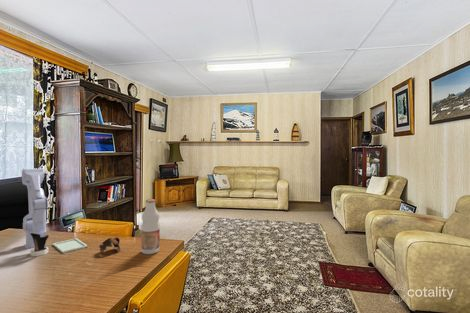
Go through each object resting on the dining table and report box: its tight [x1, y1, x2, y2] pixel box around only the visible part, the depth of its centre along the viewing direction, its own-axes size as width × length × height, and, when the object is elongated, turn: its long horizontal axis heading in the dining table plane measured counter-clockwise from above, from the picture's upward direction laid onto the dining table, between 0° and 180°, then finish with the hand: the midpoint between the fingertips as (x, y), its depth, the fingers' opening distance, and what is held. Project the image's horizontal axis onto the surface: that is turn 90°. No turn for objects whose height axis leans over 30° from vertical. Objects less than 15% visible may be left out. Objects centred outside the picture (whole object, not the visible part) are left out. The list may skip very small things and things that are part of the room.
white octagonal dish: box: [29, 246, 49, 257], centre depth 134 cm, size 7×7×2 cm
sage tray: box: [52, 238, 89, 254], centre depth 145 cm, size 18×12×2 cm, turn 49°
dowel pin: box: [35, 239, 44, 252], centre depth 134 cm, size 4×4×8 cm
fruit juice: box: [140, 198, 161, 255], centre depth 139 cm, size 9×9×28 cm
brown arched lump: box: [98, 236, 121, 254], centre depth 140 cm, size 12×10×8 cm
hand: (39, 247), depth 134 cm, fingers open, 7 cm apart
